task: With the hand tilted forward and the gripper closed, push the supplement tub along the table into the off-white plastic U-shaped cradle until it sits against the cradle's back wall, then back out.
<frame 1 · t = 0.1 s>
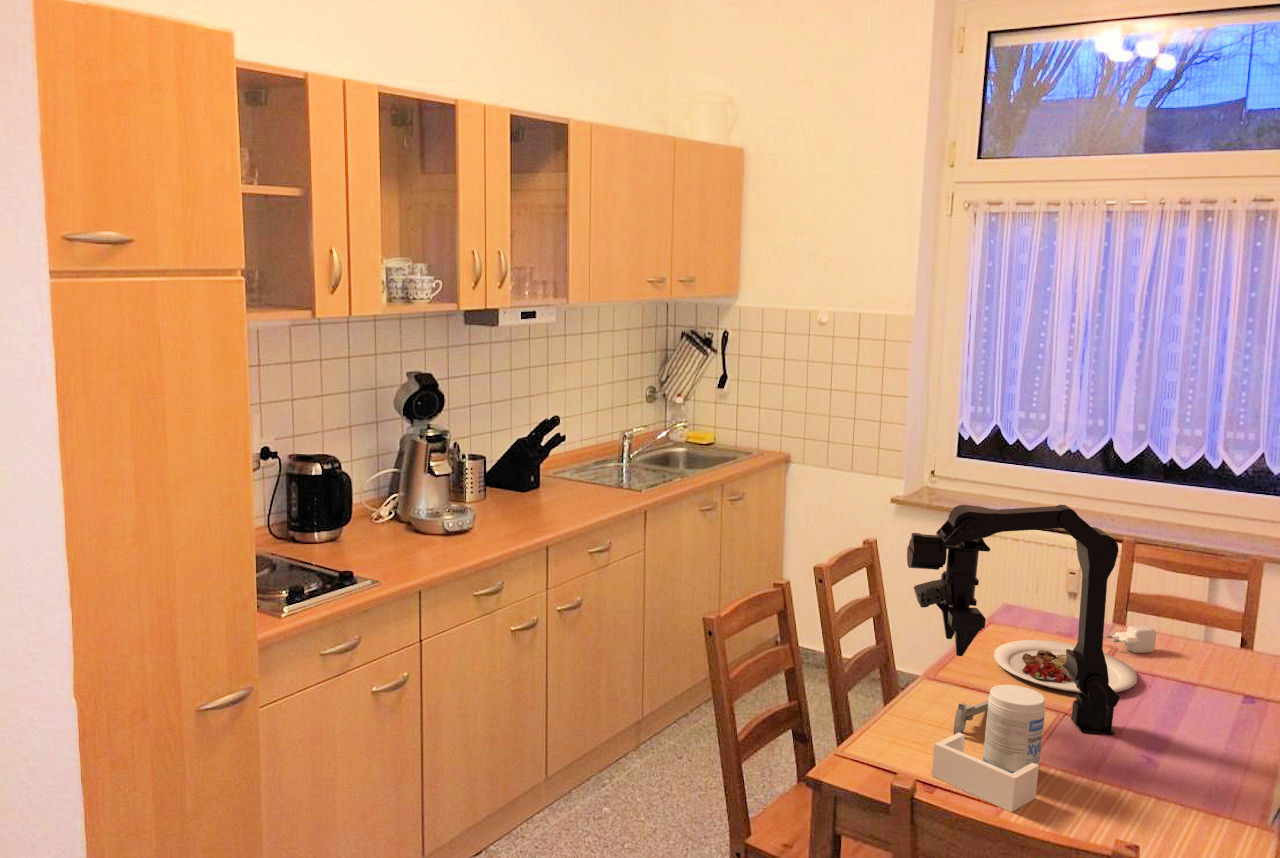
hand: (953, 647, 209), 15 cm above the table, tool pointing down, fingers open, 9 cm apart
power adapter: (1129, 652, 253), on the table
cradle: (991, 781, 186), on the table
caliper: (976, 721, 212), on the table
supplement tub: (1009, 773, 190), on the table
plated food: (1063, 672, 239), on the table
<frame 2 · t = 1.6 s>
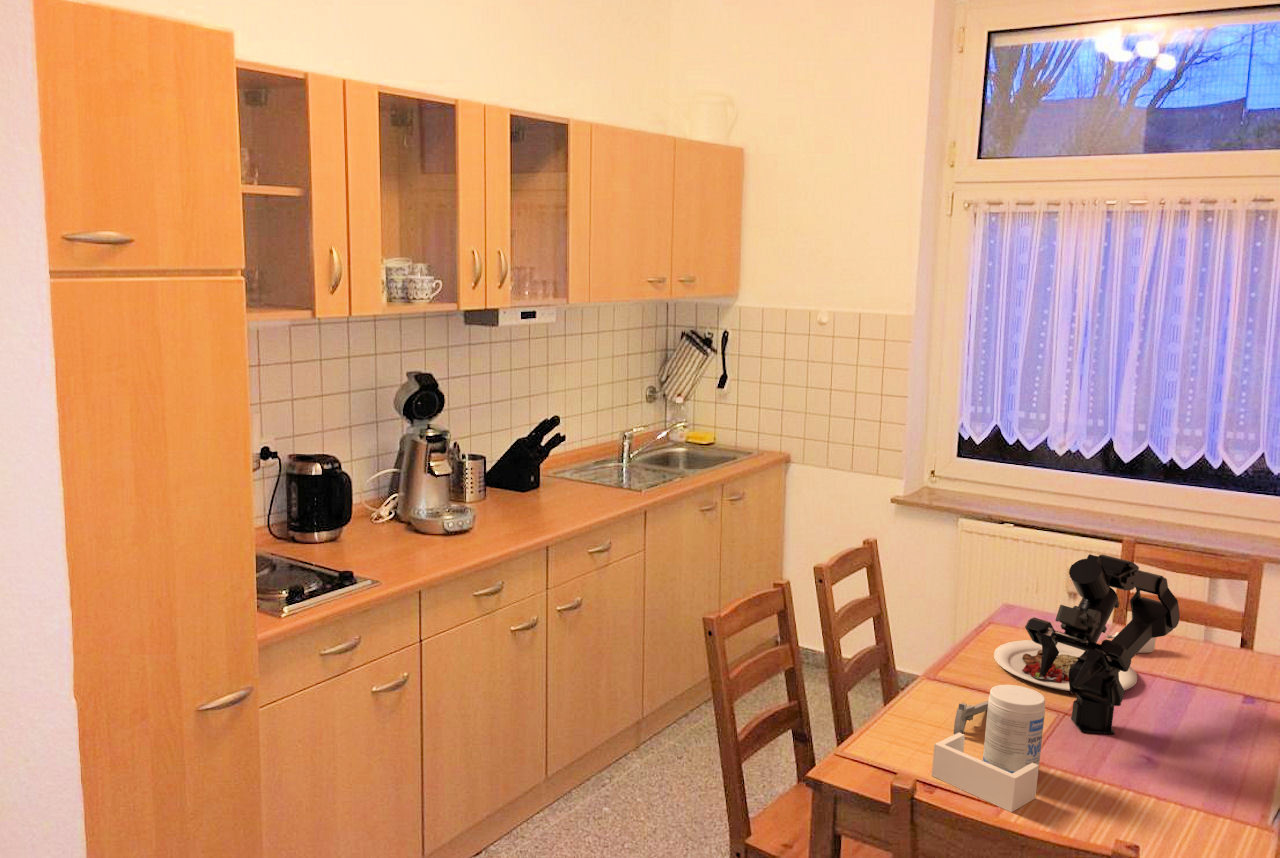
hand: (1057, 681, 197), 14 cm above the table, tool tilted 45°, fingers open, 6 cm apart
nothing on the table moved.
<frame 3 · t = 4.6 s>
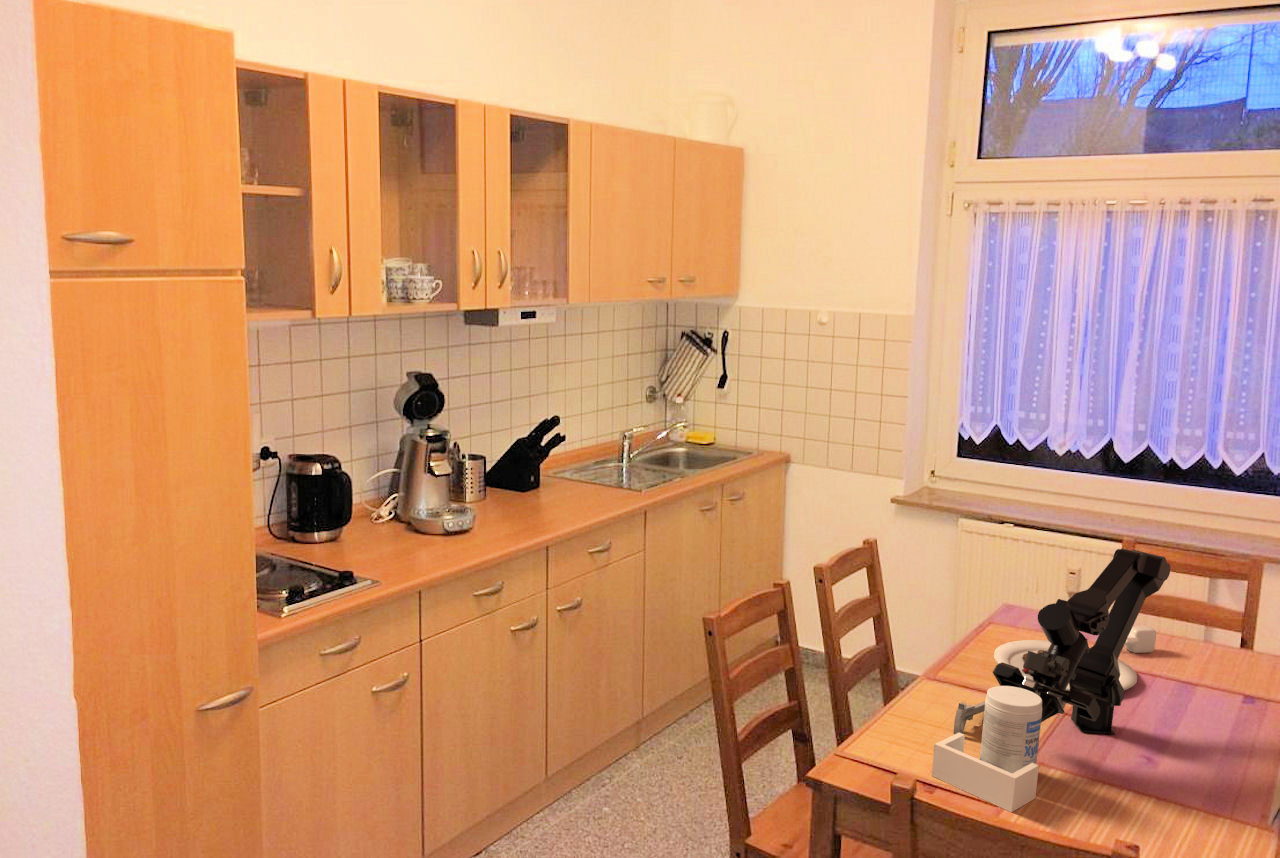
hand: (1025, 729, 191), 7 cm above the table, tool tilted 45°, fingers closed, pressing on supplement tub
supplement tub: (1006, 774, 189), on the table, touching gripper
everything else where it was.
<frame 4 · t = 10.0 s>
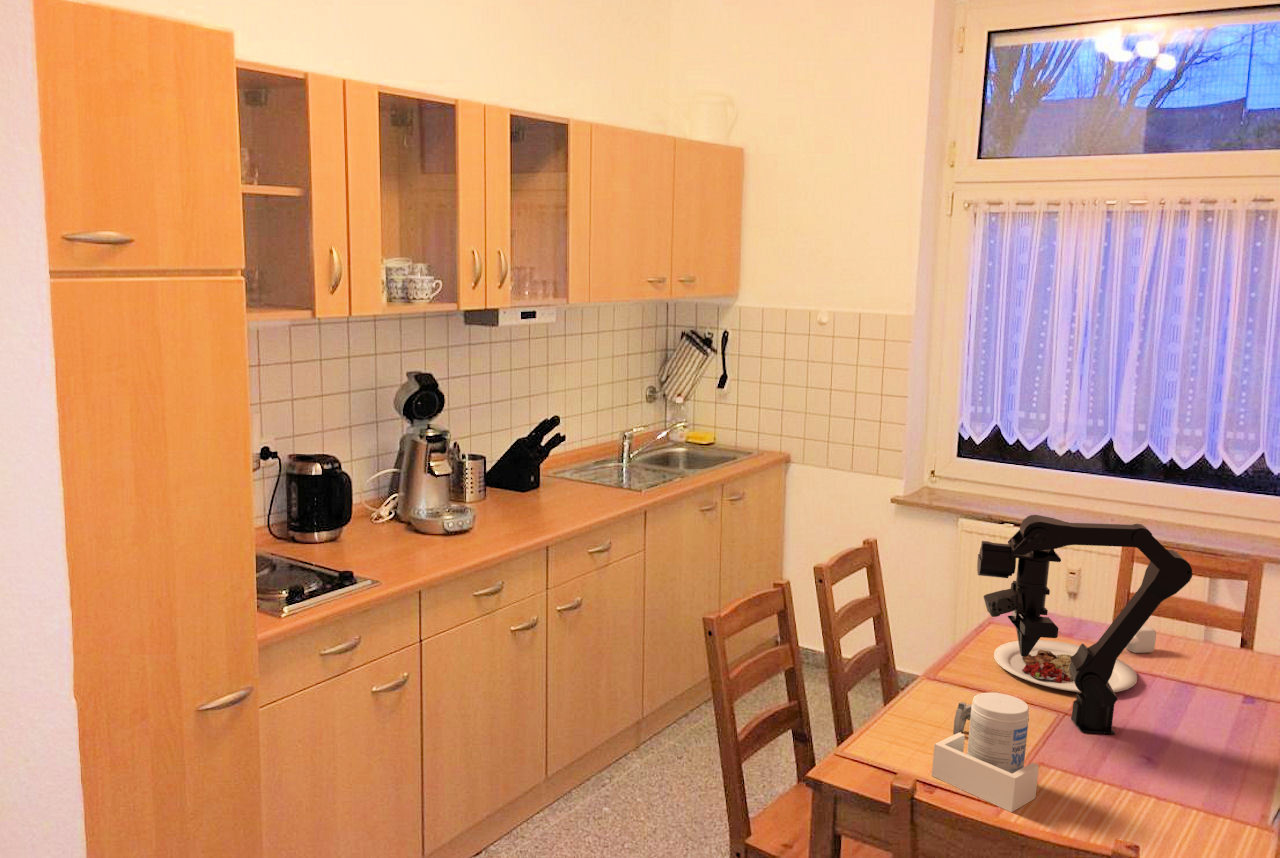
hand: (1023, 656, 211), 13 cm above the table, tool pointing down, fingers closed
supplement tub: (992, 782, 186), on the table
everything else where it was.
at the end: supplement tub 0.3 cm off-centre on the cradle, point 0.0 cm above the cradle's base; supplement tub tilted 0° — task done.
